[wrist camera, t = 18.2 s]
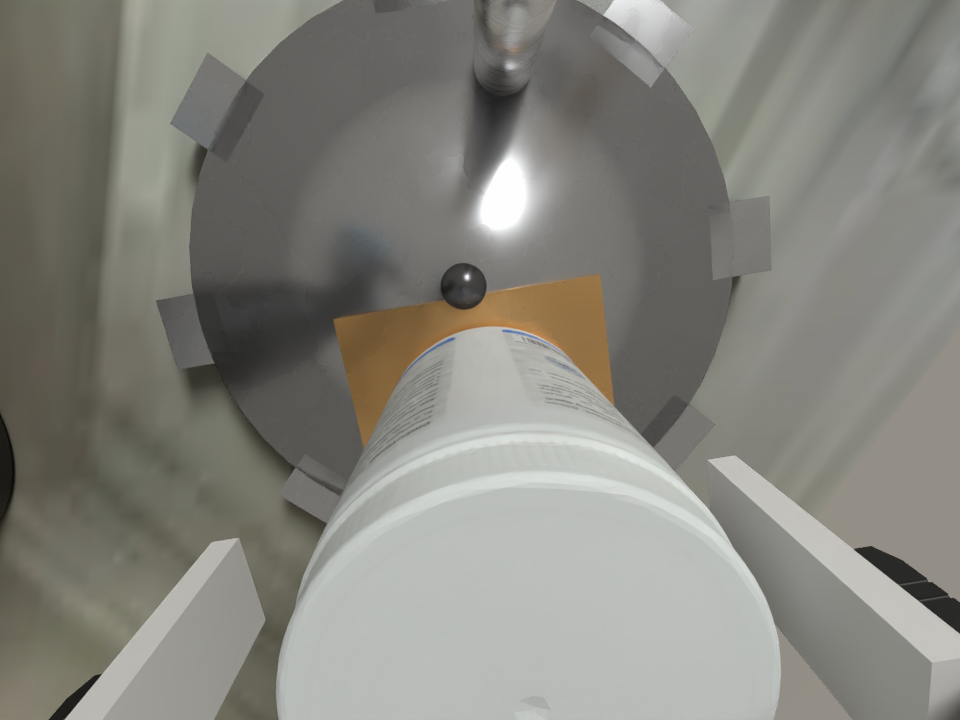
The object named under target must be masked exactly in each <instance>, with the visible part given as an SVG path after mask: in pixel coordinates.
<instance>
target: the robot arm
mask: <svg viewBox="0 0 960 720" xmlns="http://www.w3.org/2000/svg"><path fill="white" fill-rule="evenodd" d="M708 478H709V497H710V512H711V513H712V514H713V515H714V517H715V518H716V520H717V521H718V523H719V524H720V526H721V527H722V529H723V530H724V532H725V534H726V535H727V537H728V539H729V541H730V542H731V544H732V546H733V548H734V549H735V551H736V552H737V553H738V555H739V556H740V557H741V559H742V560H743V561H744V563H745V564H746V566H747V567H748V569H749V570H750V572H751V573H752V574H753V576H754V577H755V579H756V581H757V583H758V585H759V587H760V588H761V590H762V592H763V594H764V596H765V598H766V600H767V603H768V606H769V609H770V611H771V614H772V617H773V620H774V623H775V625H776V626H777V627H778V628H779V629H780V631H781V632H782V633H783V634H784V636H785V637H786V638H787V639H788V641H789V642H790V643H791V644H792V645H793V647H794V648H795V649H796V650H797V652H798V653H799V654H800V655H801V656H802V658H803V659H804V660H805V661H806V663H807V664H808V665H809V666H810V668H811V669H812V670H813V671H814V672H815V674H816V675H817V676H818V678H819V679H820V680H821V681H822V682H823V684H824V685H825V686H826V687H827V689H828V690H829V691H830V692H831V694H832V695H833V696H834V697H835V699H836V700H837V701H838V702H839V703H840V705H841V706H842V707H843V708H844V709H845V711H846V712H847V713H848V715H849V716H850V717H851V718H852V719H853V720H960V602H958V601H957V600H956V599H954V598H950V597H949V596H948V593H946V592H945V591H943V590H942V589H941V588H939V587H938V586H937V585H935V584H934V583H932V582H928V580H927V578H926V577H924V576H923V575H922V574H920V573H918V572H917V571H916V570H915V569H913V568H912V567H911V566H909V565H908V564H906V563H905V562H904V561H902V560H900V559H898V558H896V557H894V556H892V555H889V554H887V553H885V552H883V551H881V550H878V549H876V548H874V547H872V546H869V547H863V548H857V549H852V548H851V547H850V546H848V545H847V544H846V543H845V542H843V541H842V540H841V539H840V538H838V537H837V536H836V535H835V534H833V533H832V532H831V531H829V530H828V529H827V528H826V527H824V526H823V525H822V524H820V523H819V522H818V521H817V520H816V519H814V518H813V517H812V516H811V515H809V514H808V513H807V512H806V511H804V510H803V509H802V508H801V507H799V506H798V505H797V504H796V503H794V502H793V501H792V500H790V499H789V498H788V497H787V496H785V495H784V494H783V493H782V492H780V491H779V490H778V489H777V488H775V487H774V486H773V485H772V484H770V483H769V482H768V481H767V480H765V479H764V478H763V477H762V476H760V475H759V474H758V473H757V472H755V471H754V470H753V469H751V468H750V467H749V466H748V465H746V464H745V463H744V462H743V461H741V460H740V459H739V458H738V457H736V456H729V457H723V458H717V459H711V460H708ZM11 484H12V459H11V451H10V446H9V442H8V438H7V435H6V431H5V428H4V426H3V423H2V420H1V418H0V519H1V517H2V515H3V513H4V511H5V508H6V506H7V503H8V499H9V495H10V491H11ZM264 622H265V617H264V614H263V611H262V607H261V604H260V601H259V598H258V595H257V592H256V589H255V586H254V583H253V580H252V577H251V573H250V570H249V567H248V564H247V561H246V558H245V555H244V552H243V549H242V546H241V543H240V540H239V538H234V539H228V540H222V541H216V542H212V543H211V544H210V545H209V546H208V547H207V549H206V550H205V551H204V552H203V553H202V555H201V556H200V557H199V558H198V559H197V561H196V562H195V563H194V564H193V565H192V567H191V568H190V569H189V570H188V572H187V573H186V574H185V575H184V576H183V578H182V579H181V580H180V581H179V582H178V584H177V585H176V586H175V587H174V588H173V590H172V591H171V592H170V593H169V594H168V596H167V597H166V598H165V599H164V600H163V602H162V603H161V604H160V605H159V606H158V608H157V609H156V610H155V611H154V613H153V614H152V615H151V616H150V617H149V619H148V620H147V621H146V622H145V623H144V625H143V626H142V627H141V628H140V629H139V631H138V632H137V633H136V634H135V635H134V637H133V638H132V639H131V640H130V641H129V643H128V644H127V645H126V646H125V647H124V649H123V650H122V651H121V652H120V653H119V655H118V656H117V657H116V658H115V660H114V661H113V662H112V663H111V664H110V666H109V667H108V668H107V669H106V670H105V672H104V673H103V674H100V675H95V676H94V677H92V678H91V679H90V680H89V681H88V682H86V683H85V684H84V685H83V686H82V687H80V688H79V689H78V690H77V691H76V692H74V693H73V694H72V695H71V696H70V697H68V698H67V699H66V700H65V701H64V703H63V704H62V705H61V706H60V707H59V708H58V709H57V711H56V712H55V713H54V714H53V715H52V716H51V718H50V719H49V720H214V719H215V717H216V715H217V713H218V711H219V709H220V707H221V705H222V703H223V701H224V699H225V698H226V696H227V694H228V692H229V690H230V688H231V686H232V684H233V682H234V680H235V678H236V676H237V674H238V672H239V671H240V669H241V667H242V665H243V663H244V661H245V659H246V657H247V655H248V653H249V651H250V649H251V647H252V645H253V644H254V642H255V640H256V638H257V636H258V634H259V632H260V630H261V628H262V626H263V624H264Z"/></svg>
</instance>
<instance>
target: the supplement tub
mask: <svg viewBox="0 0 960 720" xmlns="http://www.w3.org/2000/svg"><path fill="white" fill-rule="evenodd" d="M780 679H781V662H780V652H779V641H778V636H777V632H776V628H775V625H774V620H773V617H772V614H771V611H770V609H769V606H768V603H767V600H766V598H765V596H764V594H763V592H762V590H761V588H760V587H759V585H758V583H757V581H756V579H755V577H754V576H753V574H752V573H751V572H750V570H749V569H748V567H747V566H746V564H745V563H744V561H743V560H742V559H741V557H740V556H739V555H738V553H737V552H736V551H735V549H734V548H733V546H732V544H731V542H730V541H729V539H728V537H727V535H726V534H725V532H724V530H723V529H722V527H721V526H720V524H719V523H718V521H717V520H716V518H715V517H714V515H713V514H712V513H711V512H710V511H709V509H708V508H707V507H706V506H705V505H704V504H703V503H702V502H701V501H700V500H699V498H698V497H697V496H696V495H695V494H694V493H693V492H692V491H691V490H690V488H689V487H688V486H687V485H686V484H685V483H684V482H683V481H682V480H681V479H680V477H679V476H678V475H677V474H676V473H675V472H674V470H673V469H672V468H671V467H670V466H669V465H668V464H667V463H666V461H665V460H664V459H663V458H662V457H661V456H660V455H659V454H658V453H657V452H656V451H655V450H654V449H653V448H652V446H651V445H650V444H649V443H648V442H647V441H646V440H645V439H644V438H643V437H642V436H641V435H640V434H639V433H638V431H637V430H636V429H635V428H634V427H633V426H632V425H631V424H630V423H629V422H628V421H627V420H626V419H625V418H624V417H623V415H622V414H621V413H620V412H619V411H618V410H617V409H616V408H615V407H614V406H613V405H612V404H611V403H610V402H609V400H608V399H607V398H606V397H605V396H604V395H603V394H602V393H601V392H600V391H599V390H598V389H597V387H596V386H595V385H594V384H593V383H592V382H591V381H590V380H589V379H588V378H587V377H586V376H585V375H584V374H583V373H582V371H581V370H580V369H579V368H578V367H577V366H576V365H575V364H574V363H573V362H572V361H571V359H570V358H569V357H568V356H567V355H566V354H565V353H564V352H562V351H561V350H560V349H559V348H557V347H556V346H554V345H553V344H551V343H550V342H548V341H546V340H545V339H543V338H541V337H539V336H536V335H534V334H532V333H529V332H526V331H522V330H519V329H513V328H507V327H479V328H473V329H468V330H465V331H461V332H458V333H455V334H453V335H451V336H448V337H446V338H444V339H442V340H440V341H439V342H437V343H435V344H434V345H432V346H431V347H430V348H428V349H427V350H425V351H424V352H423V353H422V354H421V355H419V356H418V357H417V358H416V359H415V360H414V361H413V362H412V363H411V364H410V365H409V366H408V368H407V369H406V370H405V372H404V373H403V375H402V376H401V378H400V380H399V381H398V383H397V385H396V387H395V388H394V390H393V392H392V394H391V396H390V398H389V400H388V402H387V404H386V406H385V408H384V410H383V412H382V414H381V416H380V418H379V420H378V422H377V424H376V426H375V428H374V430H373V432H372V434H371V436H370V438H369V440H368V442H367V444H366V446H365V449H364V451H363V453H362V455H361V457H360V459H359V461H358V463H357V465H356V467H355V469H354V471H353V472H352V474H351V476H350V478H349V480H348V482H347V484H346V486H345V488H344V490H343V492H342V494H341V496H340V498H339V500H338V502H337V504H336V506H335V508H334V510H333V512H332V514H331V516H330V518H329V521H328V523H327V525H326V527H325V529H324V531H323V533H322V535H321V537H320V539H319V541H318V544H317V546H316V548H315V550H314V552H313V555H312V557H311V559H310V562H309V564H308V566H307V569H306V571H305V573H304V576H303V579H302V582H301V585H300V588H299V592H298V595H297V600H296V605H295V609H294V612H293V614H292V617H291V619H290V622H289V624H288V627H287V629H286V633H285V636H284V639H283V642H282V646H281V650H280V654H279V661H278V670H277V678H276V703H277V713H278V719H279V720H774V716H775V712H776V708H777V704H778V700H779V690H780Z"/></svg>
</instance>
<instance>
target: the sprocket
mask: <svg viewBox="0 0 960 720" xmlns="http://www.w3.org/2000/svg"><path fill="white" fill-rule="evenodd" d="M692 30H693V29H692V28H691V27H690V26H689V25H688V24H686V23H685V22H684V21H683V20H682V19H681V18H680V17H678V16H677V15H676V14H675V13H674V12H673V11H672V10H670V9H669V8H668V7H667V6H666V5H665V4H664V3H663V2H661V1H660V0H614V1H613V2H612V4H611V5H610V7H609V8H608V10H607V11H606V13H605V14H604V16H603V15H601V14H600V13H598V12H596V11H595V10H593V9H591V8H590V7H588V6H586V5H585V4H583V3H581V2H579V1H576V0H343V1H341V2H340V3H338V4H336V5H334V6H332V7H331V8H329V9H327V10H325V11H324V12H322V13H320V14H318V15H316V16H315V17H313V18H311V19H310V20H309V21H307V22H306V23H305V24H304V25H302V26H301V27H300V28H298V29H297V30H296V31H294V32H293V33H292V34H291V35H289V36H288V37H287V38H285V39H284V40H283V41H282V42H280V43H279V44H278V45H277V46H276V47H275V49H274V50H273V51H272V52H271V53H270V54H269V55H268V56H267V57H266V58H265V59H264V60H263V61H262V62H261V63H260V64H259V65H258V66H257V67H256V68H255V69H254V70H253V72H252V73H251V74H250V76H249V77H248V79H247V80H245V79H243V78H242V77H241V76H239V75H238V74H236V73H235V72H234V71H232V70H231V69H230V68H228V67H227V66H225V65H224V64H223V63H221V62H220V61H218V60H217V59H216V58H214V57H213V56H212V55H210V54H209V53H207V55H206V57H205V59H204V61H203V63H202V65H201V66H200V68H199V70H198V72H197V74H196V76H195V78H194V80H193V81H192V83H191V85H190V87H189V89H188V91H187V93H186V95H185V97H184V98H183V100H182V102H181V104H180V106H179V108H178V110H177V112H176V114H175V115H174V117H173V119H172V121H171V123H170V124H172V125H173V126H174V127H176V128H177V129H179V130H180V131H182V132H183V133H184V134H186V135H187V136H189V137H190V138H192V139H193V140H194V141H196V142H197V143H199V144H200V145H202V146H203V147H204V148H206V149H207V150H208V151H207V154H206V157H205V159H204V162H203V165H202V168H201V171H200V174H199V179H198V184H197V189H196V193H195V198H194V203H193V208H192V218H191V232H190V246H189V247H190V264H191V280H192V287H193V293H194V294H191V295H186V296H180V297H174V298H168V299H163V300H157V301H156V302H157V305H158V309H159V312H160V315H161V318H162V321H163V324H164V327H165V330H166V333H167V337H168V340H169V343H170V346H171V349H172V352H173V355H174V358H175V362H176V365H177V368H178V369H184V368H190V367H196V366H202V365H208V364H214V363H215V365H216V367H217V369H218V371H219V374H220V376H221V378H222V380H223V382H224V384H225V386H226V387H227V389H228V390H229V392H230V393H231V395H232V397H233V398H234V400H235V401H236V403H237V405H238V406H239V408H240V409H241V411H242V412H243V414H244V415H245V416H246V417H247V419H248V420H249V421H250V422H251V423H252V425H253V426H254V427H255V428H256V430H257V431H258V432H259V433H260V435H261V436H262V437H263V438H264V439H265V440H266V441H267V442H268V443H269V444H270V445H271V446H272V447H273V448H274V449H275V450H276V451H277V452H278V453H279V454H280V455H281V456H282V457H283V458H285V459H286V460H287V461H288V462H289V463H290V464H292V465H293V466H294V467H296V468H295V469H294V471H293V472H292V474H291V475H290V477H289V478H288V480H287V481H286V482H285V484H284V485H283V487H282V488H281V490H280V491H279V493H278V495H280V496H282V497H283V498H285V499H287V500H288V501H290V502H292V503H293V504H295V505H297V506H298V507H300V508H302V509H303V510H305V511H307V512H308V513H310V514H312V515H313V516H315V517H317V518H318V519H320V520H322V521H323V522H325V523H328V521H329V518H330V516H331V514H332V512H333V510H334V508H335V506H336V504H337V502H338V500H339V498H340V496H341V494H342V492H343V490H344V488H345V486H346V484H347V482H348V480H349V478H350V476H351V474H352V472H353V471H354V469H355V467H356V465H357V463H358V461H359V459H360V457H361V455H362V453H363V451H364V449H365V446H366V444H367V442H368V440H369V438H370V436H371V434H372V432H373V430H374V428H375V426H376V424H377V422H378V420H379V418H380V416H381V414H382V412H383V410H384V408H385V406H386V404H387V402H388V400H389V398H390V396H391V394H392V392H393V390H394V388H395V387H396V385H397V383H398V381H399V380H400V378H401V376H402V375H403V373H404V372H405V370H406V369H407V368H408V366H409V365H410V364H411V363H412V362H413V361H414V360H415V359H416V358H417V357H418V356H419V355H421V354H422V353H423V352H424V351H425V350H427V349H428V348H430V347H431V346H432V345H434V344H435V343H437V342H439V341H440V340H442V339H444V338H446V337H448V336H451V335H453V334H455V333H458V332H461V331H465V330H468V329H473V328H479V327H507V328H513V329H519V330H522V331H526V332H529V333H532V334H534V335H536V336H539V337H541V338H543V339H545V340H546V341H548V342H550V343H551V344H553V345H554V346H556V347H557V348H559V349H560V350H561V351H562V352H564V353H565V354H566V355H567V356H568V357H569V358H570V359H571V361H572V362H573V363H574V364H575V365H576V366H577V367H578V368H579V369H580V370H581V371H582V373H583V374H584V375H585V376H586V377H587V378H588V379H589V380H590V381H591V382H592V383H593V384H594V385H595V386H596V387H597V389H598V390H599V391H600V392H601V393H602V394H603V395H604V396H605V397H606V398H607V399H608V400H609V402H610V403H611V404H612V405H613V406H614V407H615V408H616V409H617V410H618V411H619V412H620V413H621V414H622V415H623V417H624V418H625V419H626V420H627V421H628V422H629V423H630V424H631V425H632V426H633V427H634V428H635V429H636V430H637V431H638V433H639V434H640V435H641V436H642V437H643V438H644V439H645V440H646V441H647V442H648V443H649V444H650V445H651V446H652V448H653V449H654V450H655V451H656V452H657V453H658V454H659V455H660V456H661V457H662V458H663V459H664V460H665V461H666V463H667V464H668V465H669V466H670V467H671V468H672V469H673V470H674V471H675V470H676V469H677V468H678V467H679V466H680V464H681V463H682V462H683V461H684V460H685V459H686V458H687V456H688V455H689V454H690V453H691V452H692V451H693V450H694V448H695V447H696V446H697V445H698V444H699V443H700V441H701V440H702V439H703V438H704V437H705V436H706V435H707V433H708V432H709V431H710V430H711V429H712V428H713V427H714V425H715V424H714V423H713V422H712V421H710V420H709V419H708V418H706V417H705V416H704V415H702V414H701V413H700V412H698V411H697V410H695V409H694V408H693V407H691V406H690V405H689V403H690V401H691V399H692V398H693V396H694V395H695V393H696V391H697V390H698V388H699V387H700V385H701V383H702V380H703V378H704V376H705V374H706V372H707V370H708V368H709V366H710V364H711V361H712V359H713V357H714V355H715V352H716V349H717V346H718V343H719V340H720V336H721V333H722V330H723V327H724V324H725V320H726V315H727V310H728V305H729V300H730V294H731V289H732V277H735V276H741V275H747V274H753V273H759V272H765V271H771V240H770V202H769V196H765V197H759V198H753V199H747V200H741V201H735V202H729V200H728V195H727V190H726V185H725V180H724V177H723V174H722V171H721V168H720V165H719V162H718V159H717V156H716V153H715V150H714V147H713V144H712V142H711V140H710V138H709V136H708V134H707V132H706V130H705V128H704V126H703V124H702V122H701V120H700V118H699V116H698V114H697V112H696V110H695V108H694V107H693V106H692V104H691V103H690V101H689V100H688V98H687V97H686V95H685V94H684V92H683V91H682V90H681V88H680V87H679V85H678V84H677V82H676V81H675V79H674V78H673V77H672V76H671V74H670V73H669V72H668V71H667V70H666V69H665V67H666V66H667V64H668V63H669V62H670V60H671V59H672V58H673V56H674V55H675V53H676V52H677V51H678V49H679V48H680V46H681V45H682V44H683V42H684V41H685V40H686V38H687V37H688V35H689V34H690V33H691V31H692Z"/></svg>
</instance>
